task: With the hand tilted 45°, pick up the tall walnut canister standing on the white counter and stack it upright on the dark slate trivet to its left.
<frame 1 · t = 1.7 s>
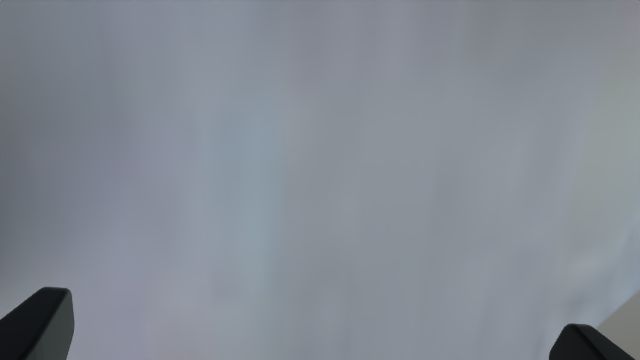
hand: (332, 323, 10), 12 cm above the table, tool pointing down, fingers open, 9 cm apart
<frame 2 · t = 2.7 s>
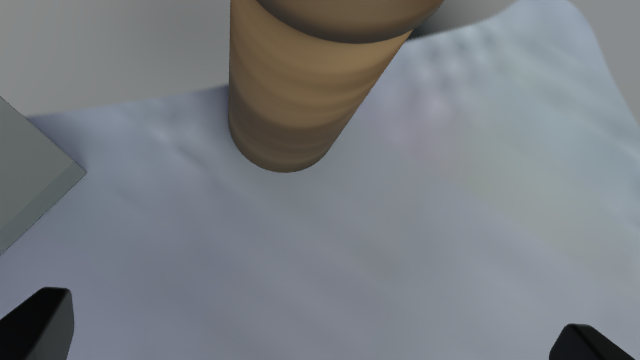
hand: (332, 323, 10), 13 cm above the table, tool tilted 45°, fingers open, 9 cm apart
walnut canister: (283, 119, 24), on the table
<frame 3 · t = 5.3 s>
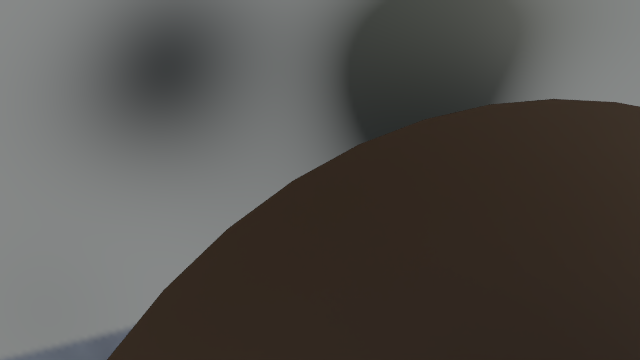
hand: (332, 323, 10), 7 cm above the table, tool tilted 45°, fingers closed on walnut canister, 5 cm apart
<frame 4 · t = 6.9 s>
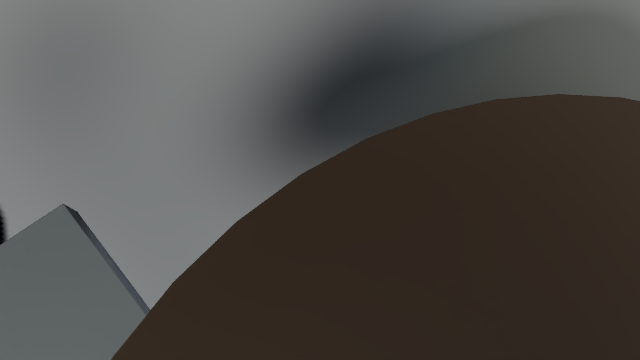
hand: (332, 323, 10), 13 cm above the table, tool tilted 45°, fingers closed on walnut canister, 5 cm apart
when the fingers open (9 cm above the table, at t = 8.8 s): walnut canister stays where it is, resting on slate trivet.
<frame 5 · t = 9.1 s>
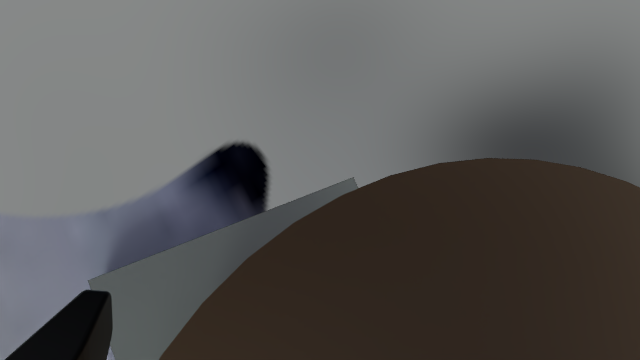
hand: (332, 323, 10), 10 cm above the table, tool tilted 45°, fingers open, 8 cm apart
slate trivet: (275, 353, 18), on the table
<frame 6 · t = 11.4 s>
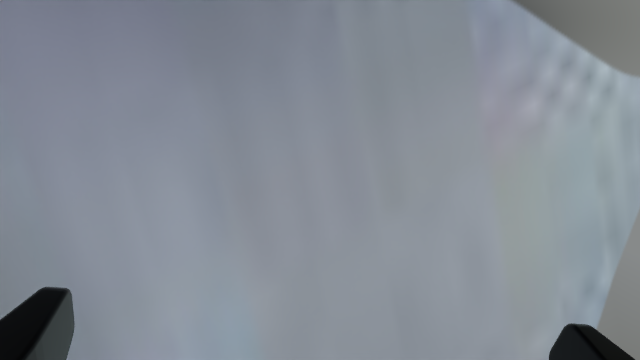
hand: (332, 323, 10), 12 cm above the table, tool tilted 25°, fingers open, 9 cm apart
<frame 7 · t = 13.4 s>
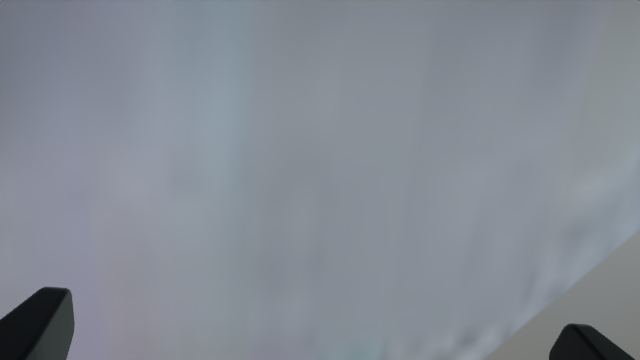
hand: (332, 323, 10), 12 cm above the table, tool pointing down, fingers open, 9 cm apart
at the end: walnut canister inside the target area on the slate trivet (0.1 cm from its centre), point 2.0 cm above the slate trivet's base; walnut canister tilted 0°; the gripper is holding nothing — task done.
